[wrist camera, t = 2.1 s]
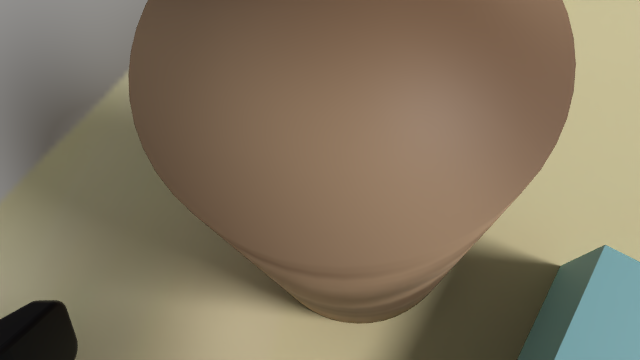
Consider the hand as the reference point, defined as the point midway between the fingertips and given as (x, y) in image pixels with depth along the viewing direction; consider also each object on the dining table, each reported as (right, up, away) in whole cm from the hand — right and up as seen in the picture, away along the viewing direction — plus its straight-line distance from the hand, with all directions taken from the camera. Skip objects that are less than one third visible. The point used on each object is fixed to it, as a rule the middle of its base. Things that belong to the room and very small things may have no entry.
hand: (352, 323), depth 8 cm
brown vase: (+1, 0, +12) cm, 12 cm away
